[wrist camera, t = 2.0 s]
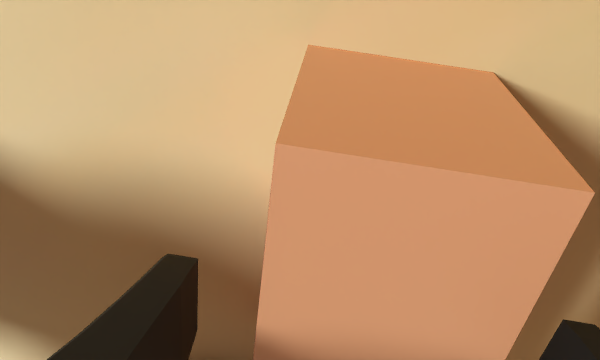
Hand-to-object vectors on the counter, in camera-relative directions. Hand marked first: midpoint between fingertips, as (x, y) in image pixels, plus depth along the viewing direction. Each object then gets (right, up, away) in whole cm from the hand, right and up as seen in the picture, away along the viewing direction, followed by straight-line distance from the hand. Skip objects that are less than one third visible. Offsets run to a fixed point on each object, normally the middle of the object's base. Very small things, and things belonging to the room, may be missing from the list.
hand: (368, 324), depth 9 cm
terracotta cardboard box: (0, +2, +3) cm, 4 cm away
